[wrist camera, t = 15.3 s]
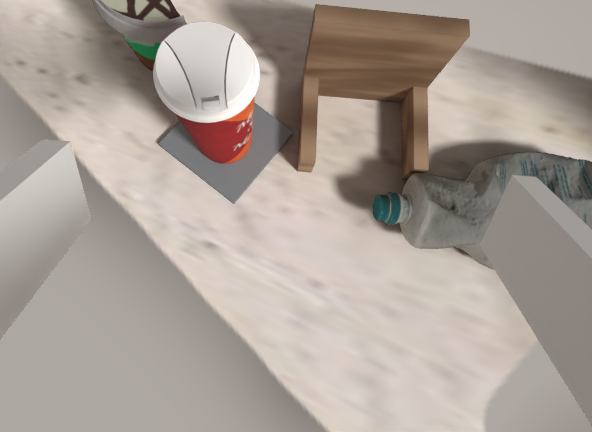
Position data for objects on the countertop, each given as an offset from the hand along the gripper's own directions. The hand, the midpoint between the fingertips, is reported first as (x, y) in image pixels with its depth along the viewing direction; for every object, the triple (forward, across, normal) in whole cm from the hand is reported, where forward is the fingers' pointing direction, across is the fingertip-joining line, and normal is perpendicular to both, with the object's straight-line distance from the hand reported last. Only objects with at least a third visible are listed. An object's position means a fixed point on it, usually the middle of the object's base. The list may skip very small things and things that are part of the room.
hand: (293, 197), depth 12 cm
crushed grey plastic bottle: (+24, +21, -16) cm, 36 cm away
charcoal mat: (+28, -6, -11) cm, 31 cm away
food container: (+35, -15, -4) cm, 39 cm away
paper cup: (+28, -7, -11) cm, 31 cm away
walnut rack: (+30, +8, -10) cm, 33 cm away
